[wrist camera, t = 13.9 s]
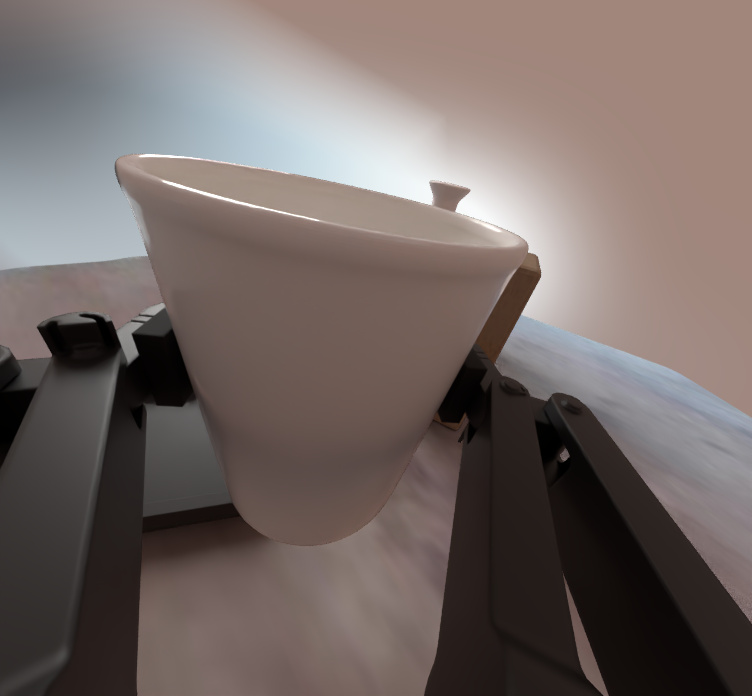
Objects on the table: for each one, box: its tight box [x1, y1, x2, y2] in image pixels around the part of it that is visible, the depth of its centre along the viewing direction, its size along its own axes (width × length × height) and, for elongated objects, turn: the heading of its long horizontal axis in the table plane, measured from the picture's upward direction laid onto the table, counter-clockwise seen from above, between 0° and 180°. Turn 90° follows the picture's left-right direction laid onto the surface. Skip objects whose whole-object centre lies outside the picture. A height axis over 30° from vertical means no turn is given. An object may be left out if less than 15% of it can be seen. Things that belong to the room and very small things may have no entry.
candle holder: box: [115, 154, 528, 546], centre depth 11 cm, size 10×10×12 cm
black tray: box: [142, 392, 241, 533], centre depth 24 cm, size 14×14×2 cm
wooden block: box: [433, 253, 541, 430], centre depth 33 cm, size 10×10×20 cm
